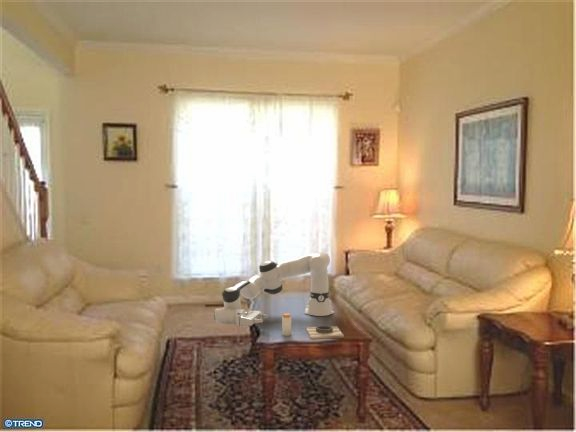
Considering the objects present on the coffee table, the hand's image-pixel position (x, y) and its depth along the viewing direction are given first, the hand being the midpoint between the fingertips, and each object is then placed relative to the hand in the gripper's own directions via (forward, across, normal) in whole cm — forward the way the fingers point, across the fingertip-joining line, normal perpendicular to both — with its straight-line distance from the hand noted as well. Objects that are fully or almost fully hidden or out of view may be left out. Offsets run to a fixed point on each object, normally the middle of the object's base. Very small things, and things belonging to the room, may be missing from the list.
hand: (265, 318), depth 292 cm
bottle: (+12, 0, -8) cm, 15 cm away
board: (+32, -8, -8) cm, 34 cm away
